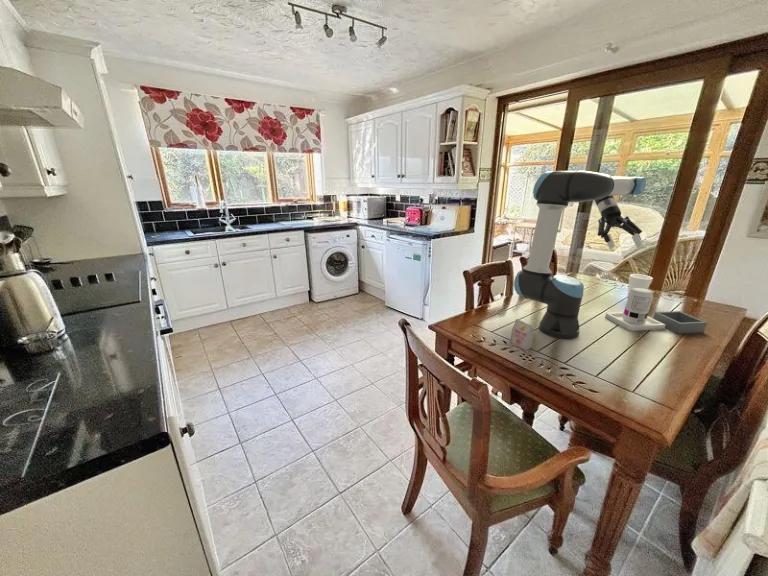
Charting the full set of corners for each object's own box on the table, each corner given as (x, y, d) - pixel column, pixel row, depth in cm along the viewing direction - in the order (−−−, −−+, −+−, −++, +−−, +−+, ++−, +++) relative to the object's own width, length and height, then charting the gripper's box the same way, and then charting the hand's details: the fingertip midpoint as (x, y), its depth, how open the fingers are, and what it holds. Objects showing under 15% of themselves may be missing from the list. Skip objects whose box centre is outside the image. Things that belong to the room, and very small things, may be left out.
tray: (629, 331, 133) (630, 326, 132) (604, 317, 146) (606, 312, 146) (664, 329, 134) (665, 324, 134) (636, 315, 148) (638, 311, 147)
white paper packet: (516, 340, 126) (519, 318, 123) (531, 347, 121) (535, 324, 117) (510, 342, 125) (513, 320, 121) (524, 350, 119) (528, 326, 116)
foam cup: (638, 296, 171) (644, 274, 166) (650, 303, 162) (657, 279, 158) (619, 296, 171) (625, 273, 167) (630, 302, 163) (637, 279, 158)
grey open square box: (677, 333, 131) (680, 323, 129) (651, 321, 142) (654, 312, 141) (703, 332, 132) (707, 322, 130) (676, 320, 143) (679, 311, 142)
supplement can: (617, 318, 143) (625, 287, 138) (631, 316, 145) (639, 286, 140) (635, 326, 135) (645, 294, 130) (649, 323, 138) (659, 292, 133)
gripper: (627, 214, 156) (645, 250, 147) (580, 215, 154) (595, 252, 145) (639, 204, 149) (658, 241, 140) (590, 205, 147) (606, 243, 138)
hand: (626, 247), depth 143 cm, fingers open, 13 cm apart
